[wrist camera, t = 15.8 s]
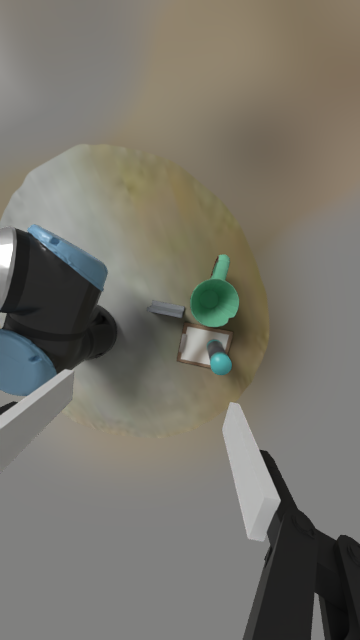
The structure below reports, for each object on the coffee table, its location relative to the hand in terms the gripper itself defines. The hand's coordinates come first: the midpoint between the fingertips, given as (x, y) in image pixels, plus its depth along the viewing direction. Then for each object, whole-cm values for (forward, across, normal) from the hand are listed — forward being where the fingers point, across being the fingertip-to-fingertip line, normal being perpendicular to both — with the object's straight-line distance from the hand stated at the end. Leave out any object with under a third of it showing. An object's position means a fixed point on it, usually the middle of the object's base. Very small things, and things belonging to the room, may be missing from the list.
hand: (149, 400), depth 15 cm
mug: (+33, +8, +9) cm, 35 cm away
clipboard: (+33, +9, -6) cm, 34 cm away
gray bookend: (+33, -2, +2) cm, 33 cm away
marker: (+32, +12, -5) cm, 34 cm away
